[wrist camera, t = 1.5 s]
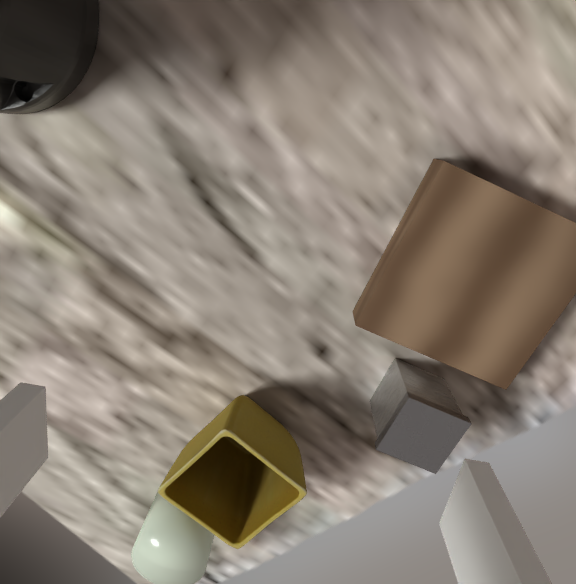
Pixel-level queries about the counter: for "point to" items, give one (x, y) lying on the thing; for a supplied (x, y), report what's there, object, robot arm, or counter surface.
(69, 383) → the counter surface
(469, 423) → the metal tin
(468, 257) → the brown curved panel
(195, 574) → the pale green rounded cylinder
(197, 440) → the flower pot
